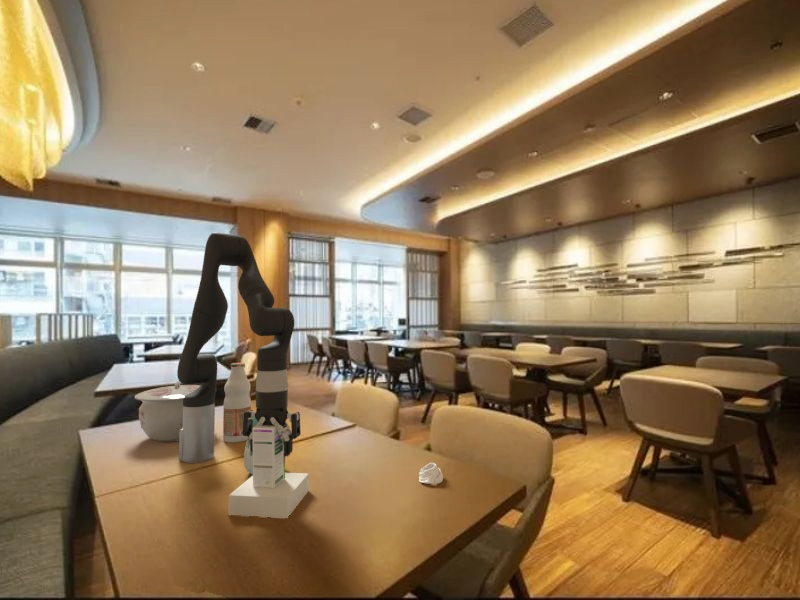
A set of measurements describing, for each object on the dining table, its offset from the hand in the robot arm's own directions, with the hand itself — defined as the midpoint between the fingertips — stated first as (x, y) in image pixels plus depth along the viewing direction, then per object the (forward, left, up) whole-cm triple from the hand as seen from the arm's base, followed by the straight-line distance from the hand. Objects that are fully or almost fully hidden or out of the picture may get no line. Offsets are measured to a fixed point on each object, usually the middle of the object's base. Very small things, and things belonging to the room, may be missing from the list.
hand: (271, 454), depth 97 cm
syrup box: (-1, 0, -7) cm, 7 cm away
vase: (-11, +17, -12) cm, 23 cm away
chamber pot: (-62, +44, -12) cm, 77 cm away
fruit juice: (-37, +44, -12) cm, 59 cm away
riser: (0, 0, -12) cm, 12 cm away
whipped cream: (+37, +19, -12) cm, 44 cm away
